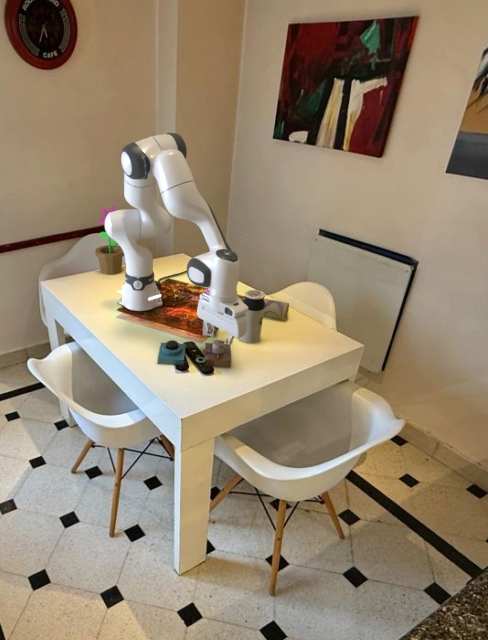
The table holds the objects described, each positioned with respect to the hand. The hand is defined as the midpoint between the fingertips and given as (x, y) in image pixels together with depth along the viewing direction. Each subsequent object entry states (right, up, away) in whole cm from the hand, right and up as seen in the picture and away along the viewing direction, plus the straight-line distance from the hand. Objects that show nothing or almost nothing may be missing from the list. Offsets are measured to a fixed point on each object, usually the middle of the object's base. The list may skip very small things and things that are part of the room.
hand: (219, 338), depth 158 cm
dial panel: (0, -7, +4) cm, 8 cm away
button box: (-16, -6, +5) cm, 18 cm away
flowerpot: (-46, +42, +70) cm, 94 cm away
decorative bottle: (+20, +15, +34) cm, 42 cm away
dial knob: (0, -4, +2) cm, 5 cm away
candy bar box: (-1, +6, +21) cm, 22 cm away
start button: (-16, -3, +3) cm, 17 cm away
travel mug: (+13, +2, +16) cm, 21 cm away
